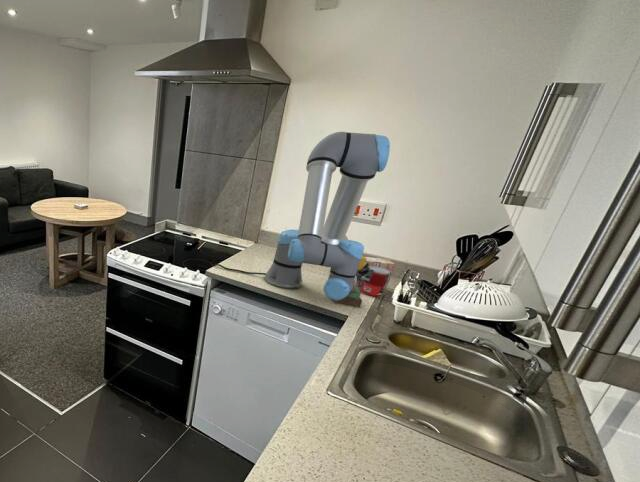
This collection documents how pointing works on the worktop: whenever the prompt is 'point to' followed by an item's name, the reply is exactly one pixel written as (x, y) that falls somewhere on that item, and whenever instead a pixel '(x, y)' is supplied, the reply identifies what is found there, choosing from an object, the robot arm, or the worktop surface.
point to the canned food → (375, 282)
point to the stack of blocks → (381, 264)
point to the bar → (362, 264)
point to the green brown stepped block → (351, 298)
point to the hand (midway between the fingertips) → (358, 264)
